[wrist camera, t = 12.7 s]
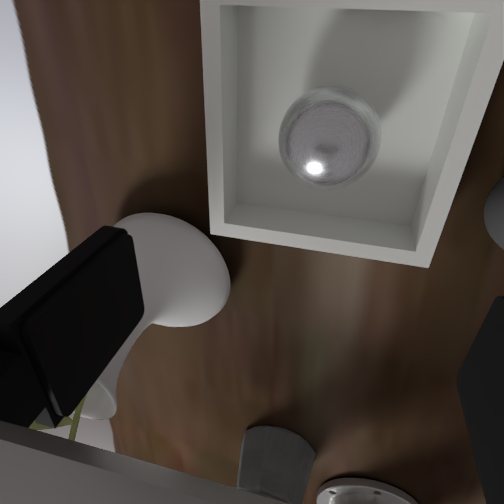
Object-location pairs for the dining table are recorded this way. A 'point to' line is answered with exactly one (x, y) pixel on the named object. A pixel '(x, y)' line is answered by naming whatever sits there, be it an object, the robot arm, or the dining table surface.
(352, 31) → the tray
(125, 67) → the dining table surface
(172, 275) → the flower in vase
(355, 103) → the steel ball
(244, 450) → the coffeepot
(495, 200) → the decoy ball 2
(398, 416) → the dining table surface
